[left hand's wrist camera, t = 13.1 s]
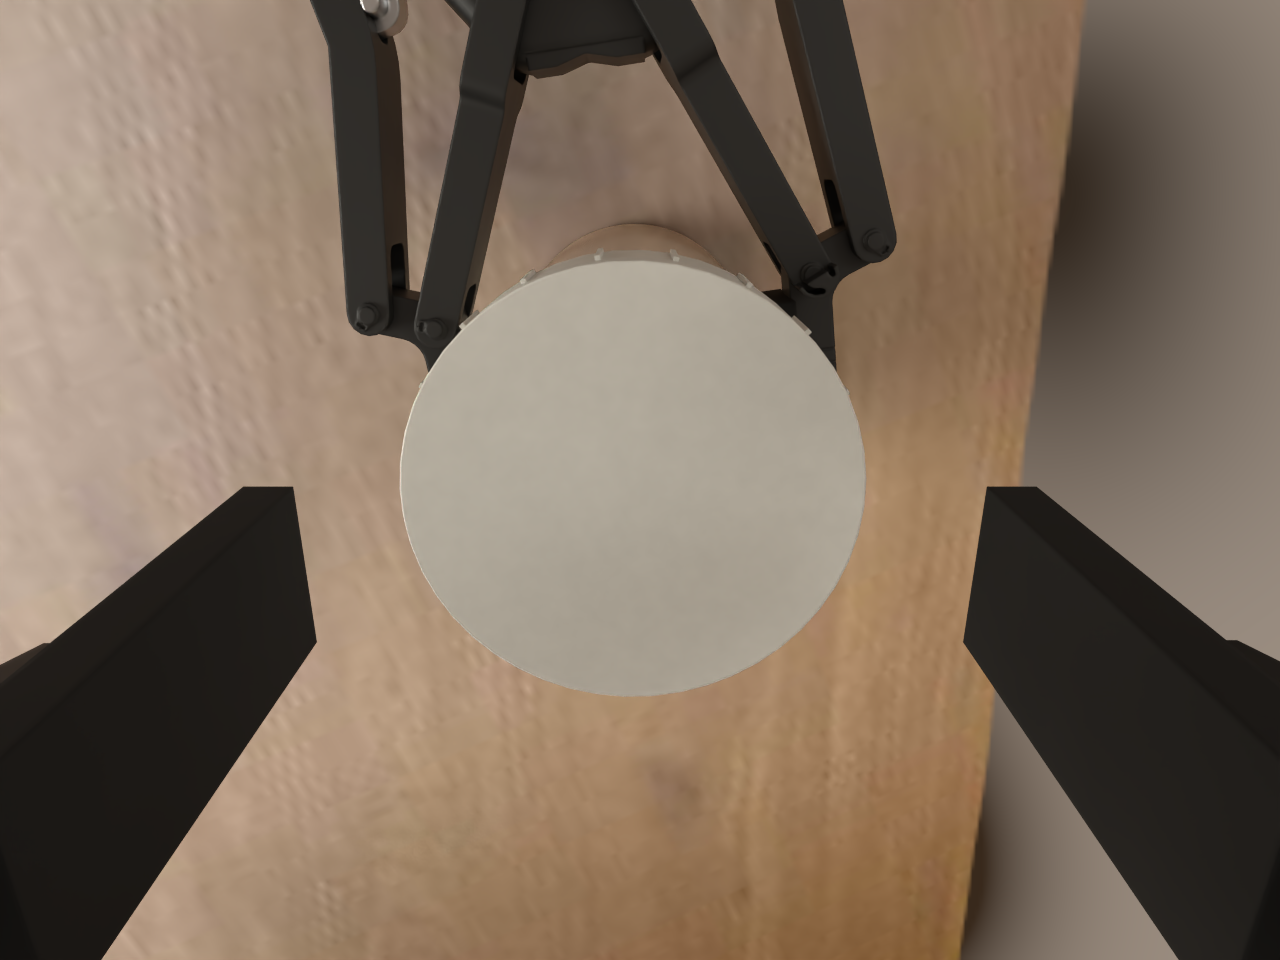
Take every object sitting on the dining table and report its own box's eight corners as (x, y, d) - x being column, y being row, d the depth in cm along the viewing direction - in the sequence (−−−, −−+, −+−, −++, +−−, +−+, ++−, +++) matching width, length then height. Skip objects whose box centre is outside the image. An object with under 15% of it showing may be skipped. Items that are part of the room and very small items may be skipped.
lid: (691, 151, 16) (698, 148, 14) (918, 510, 19) (952, 551, 17) (335, 414, 18) (298, 445, 16) (588, 710, 20) (583, 768, 18)
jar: (662, 175, 30) (690, 181, 15) (785, 364, 32) (919, 537, 17) (480, 310, 32) (334, 442, 16) (609, 480, 34) (587, 734, 19)
